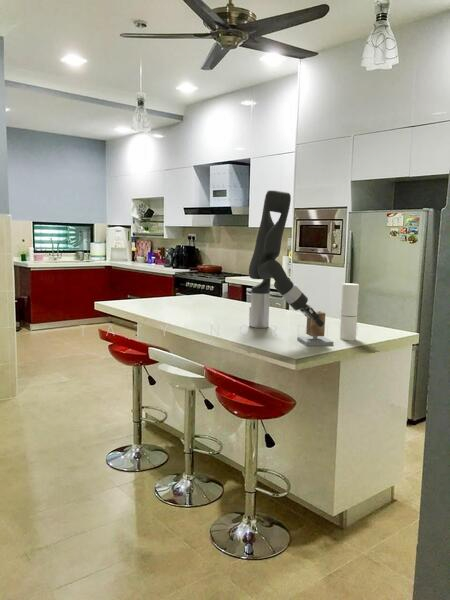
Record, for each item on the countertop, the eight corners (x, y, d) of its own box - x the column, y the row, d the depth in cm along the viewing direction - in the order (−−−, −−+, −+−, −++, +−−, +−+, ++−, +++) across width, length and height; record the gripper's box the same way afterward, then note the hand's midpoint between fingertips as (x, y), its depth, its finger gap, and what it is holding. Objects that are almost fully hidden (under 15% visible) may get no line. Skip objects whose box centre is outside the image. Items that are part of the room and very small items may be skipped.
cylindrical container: (353, 337, 226) (356, 283, 222) (357, 340, 219) (361, 285, 215) (337, 337, 225) (340, 283, 222) (342, 340, 218) (345, 284, 215)
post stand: (306, 345, 205) (308, 314, 204) (297, 339, 217) (298, 309, 215) (333, 345, 208) (335, 314, 206) (322, 339, 219) (324, 309, 218)
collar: (311, 336, 208) (312, 313, 207) (306, 333, 214) (307, 311, 213) (324, 336, 210) (325, 313, 208) (319, 333, 215) (320, 311, 214)
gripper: (306, 292, 201) (332, 320, 205) (295, 288, 215) (319, 315, 219) (293, 305, 201) (319, 333, 205) (283, 300, 215) (307, 327, 219)
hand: (319, 324), depth 212 cm, fingers closed on collar, 6 cm apart
